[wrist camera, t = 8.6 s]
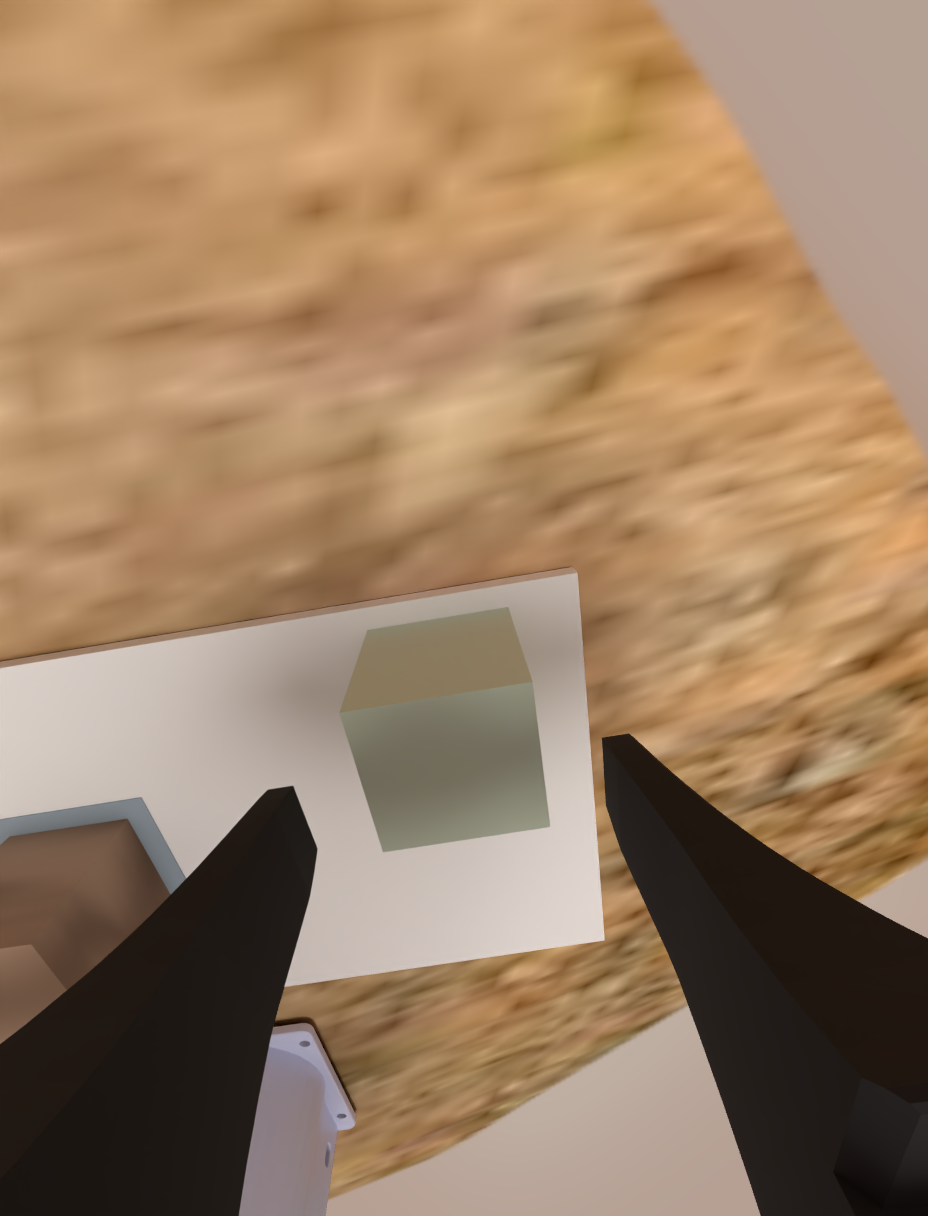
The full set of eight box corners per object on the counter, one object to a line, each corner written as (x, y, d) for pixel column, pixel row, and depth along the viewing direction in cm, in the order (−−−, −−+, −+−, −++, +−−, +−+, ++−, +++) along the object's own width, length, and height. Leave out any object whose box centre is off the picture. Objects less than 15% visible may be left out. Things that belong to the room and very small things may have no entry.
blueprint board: (600, 926, 22) (604, 941, 21) (93, 1001, 23) (84, 1017, 22) (572, 566, 15) (577, 573, 15) (-147, 685, 16) (-170, 696, 15)
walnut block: (174, 901, 19) (101, 1035, 15) (66, 917, 20) (-35, 1054, 15) (127, 818, 18) (30, 944, 14) (9, 836, 18) (-122, 966, 14)
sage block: (524, 724, 17) (550, 827, 13) (397, 743, 17) (382, 852, 13) (507, 607, 15) (532, 681, 11) (367, 630, 15) (339, 712, 11)
